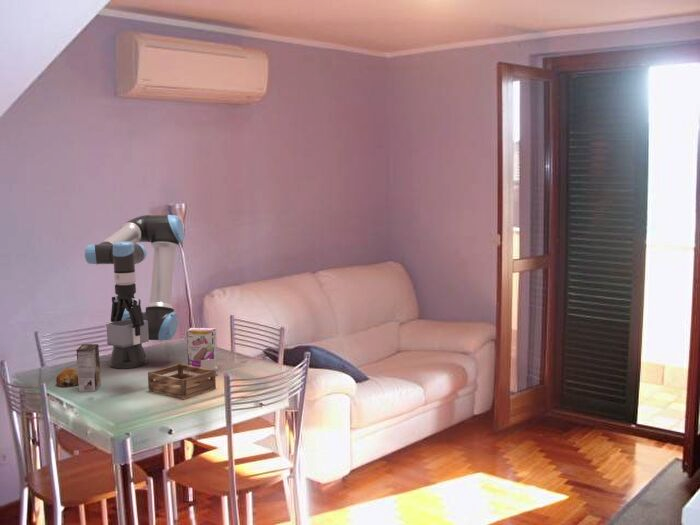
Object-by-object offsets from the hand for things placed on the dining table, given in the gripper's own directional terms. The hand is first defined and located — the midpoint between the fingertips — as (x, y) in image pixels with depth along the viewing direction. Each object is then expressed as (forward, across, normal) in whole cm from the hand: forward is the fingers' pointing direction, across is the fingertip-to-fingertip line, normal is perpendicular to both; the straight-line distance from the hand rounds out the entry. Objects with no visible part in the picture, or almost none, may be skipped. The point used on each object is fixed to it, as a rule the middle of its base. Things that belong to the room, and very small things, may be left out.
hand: (128, 342), depth 294 cm
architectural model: (+18, +14, +27) cm, 35 cm away
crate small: (0, 0, 0) cm, 0 cm away
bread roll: (+18, -24, -10) cm, 31 cm away
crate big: (+17, +19, +9) cm, 27 cm away
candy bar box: (+18, +2, +35) cm, 39 cm away
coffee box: (+18, -12, -9) cm, 23 cm away
